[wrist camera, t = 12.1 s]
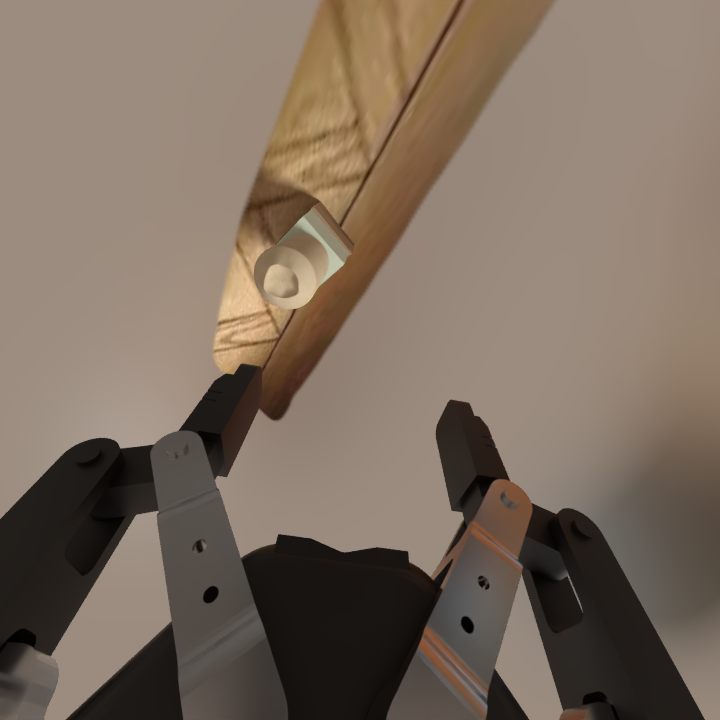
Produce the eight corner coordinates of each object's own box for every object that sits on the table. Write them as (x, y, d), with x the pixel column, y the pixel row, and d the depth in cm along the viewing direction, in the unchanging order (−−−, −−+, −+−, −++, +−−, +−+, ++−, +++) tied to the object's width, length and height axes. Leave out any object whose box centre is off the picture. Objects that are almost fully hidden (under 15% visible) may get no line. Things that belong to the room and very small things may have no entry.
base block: (320, 200, 39) (313, 206, 35) (354, 244, 42) (351, 253, 37) (284, 235, 41) (274, 244, 37) (318, 274, 44) (312, 286, 40)
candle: (291, 289, 35) (264, 321, 26) (273, 241, 32) (235, 259, 24) (335, 277, 34) (322, 306, 25) (320, 227, 31) (299, 240, 23)
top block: (311, 209, 35) (302, 216, 31) (347, 252, 37) (344, 263, 33) (276, 245, 37) (264, 256, 33) (312, 283, 40) (305, 298, 36)
